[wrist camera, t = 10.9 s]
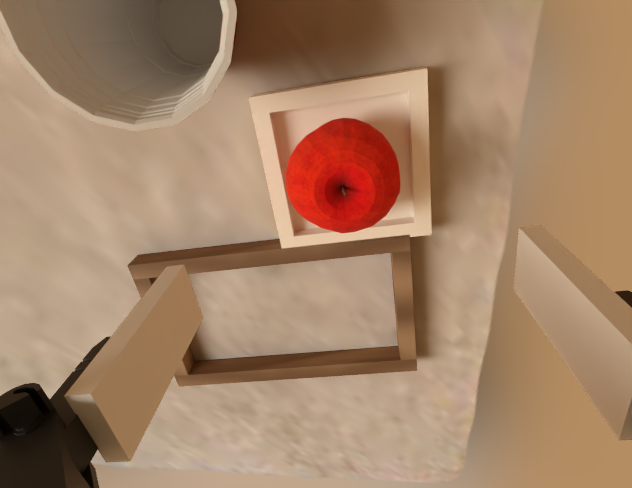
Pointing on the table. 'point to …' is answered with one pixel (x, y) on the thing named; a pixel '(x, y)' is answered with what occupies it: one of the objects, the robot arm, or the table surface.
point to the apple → (343, 176)
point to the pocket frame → (301, 364)
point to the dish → (365, 105)
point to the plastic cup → (124, 55)
